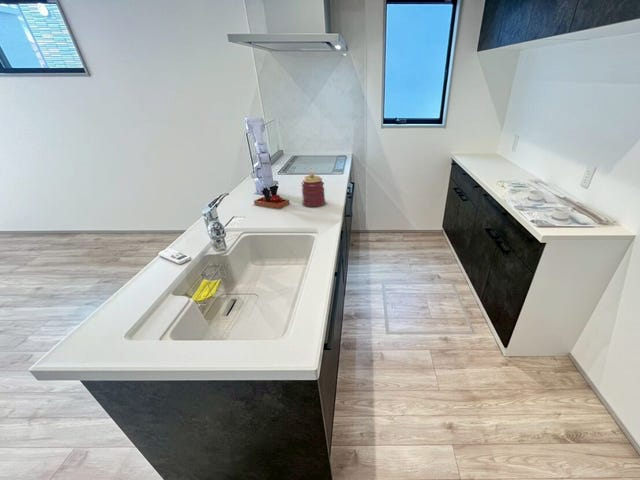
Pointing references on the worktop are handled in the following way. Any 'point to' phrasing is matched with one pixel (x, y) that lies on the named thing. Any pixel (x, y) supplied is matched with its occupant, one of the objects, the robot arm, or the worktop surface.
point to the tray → (273, 205)
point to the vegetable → (273, 199)
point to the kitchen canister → (313, 191)
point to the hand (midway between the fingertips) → (271, 199)
